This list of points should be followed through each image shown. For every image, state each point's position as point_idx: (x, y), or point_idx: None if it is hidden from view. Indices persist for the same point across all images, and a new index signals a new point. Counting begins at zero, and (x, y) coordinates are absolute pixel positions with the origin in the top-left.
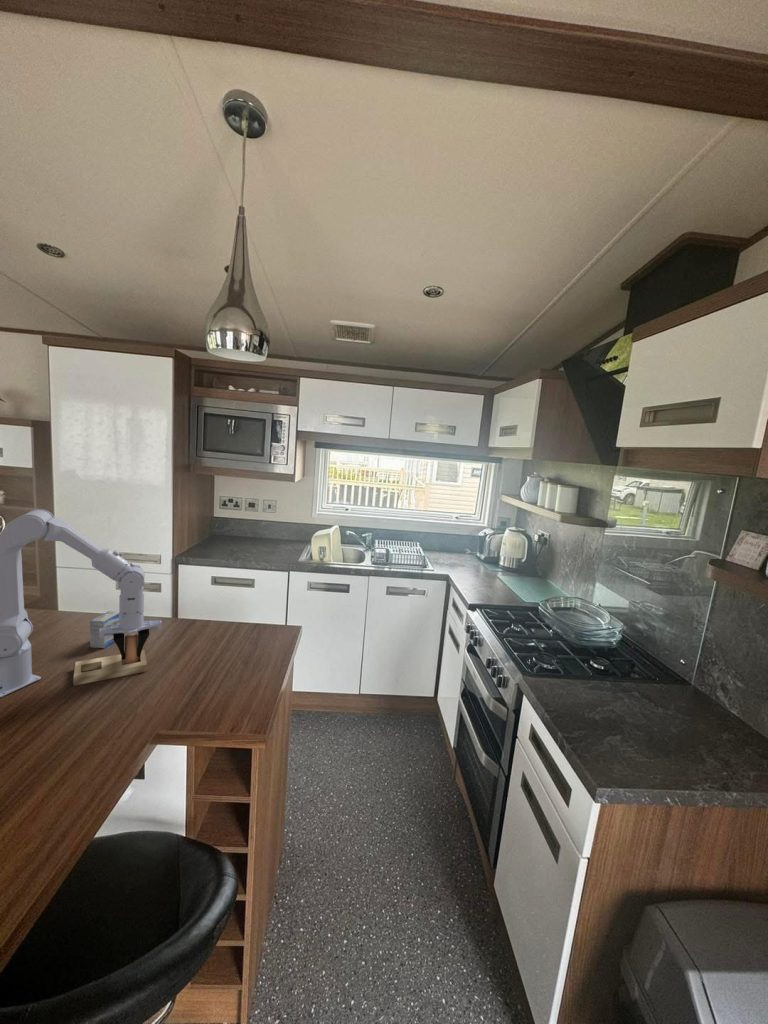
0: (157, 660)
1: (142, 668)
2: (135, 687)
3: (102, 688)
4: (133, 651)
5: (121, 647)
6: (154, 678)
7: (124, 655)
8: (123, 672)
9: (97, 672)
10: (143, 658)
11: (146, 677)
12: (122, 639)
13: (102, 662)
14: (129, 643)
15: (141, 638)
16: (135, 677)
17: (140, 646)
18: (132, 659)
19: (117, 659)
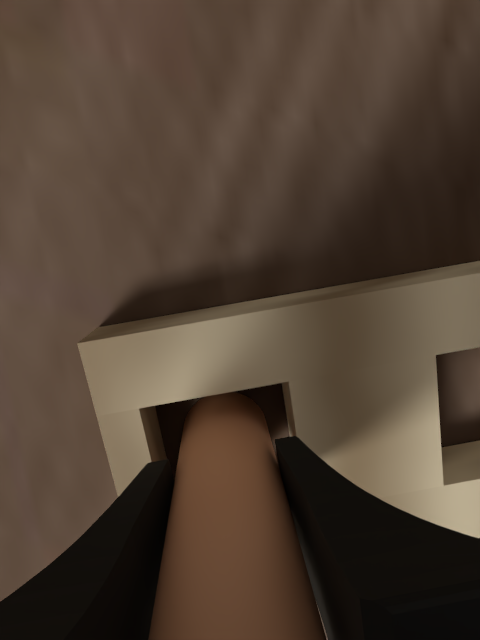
0: (48, 480)
1: (121, 329)
2: (141, 76)
3: (380, 143)
4: (199, 484)
5: (347, 505)
6: (14, 189)
7: (284, 453)
8: (261, 304)
9: (460, 301)
10: (128, 462)
11: (82, 226)
12: (405, 595)
13: (436, 462)
14: (252, 571)
15: (26, 635)
16: (167, 250)
17: (113, 532)
18: (210, 433)
19: None
